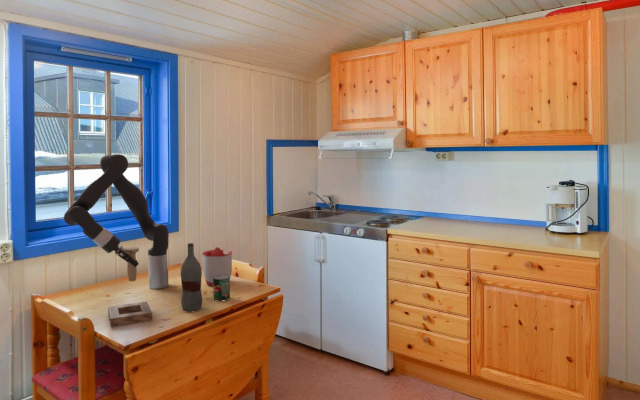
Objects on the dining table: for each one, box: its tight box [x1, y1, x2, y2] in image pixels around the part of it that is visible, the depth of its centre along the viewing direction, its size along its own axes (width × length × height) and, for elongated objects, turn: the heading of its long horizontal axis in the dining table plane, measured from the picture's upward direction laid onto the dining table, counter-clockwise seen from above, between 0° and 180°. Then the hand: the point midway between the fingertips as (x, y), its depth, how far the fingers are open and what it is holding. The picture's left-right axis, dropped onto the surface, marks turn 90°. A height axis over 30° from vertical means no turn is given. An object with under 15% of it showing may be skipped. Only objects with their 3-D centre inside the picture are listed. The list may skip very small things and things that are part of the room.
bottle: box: [179, 242, 203, 313], centre depth 208 cm, size 9×9×30 cm
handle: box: [123, 246, 140, 282], centre depth 210 cm, size 5×6×15 cm
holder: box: [107, 301, 153, 328], centre depth 198 cm, size 16×16×4 cm
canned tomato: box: [212, 274, 231, 302], centre depth 223 cm, size 8×8×11 cm
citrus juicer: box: [201, 246, 233, 287], centre depth 248 cm, size 16×17×20 cm
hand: (136, 264), depth 211 cm, fingers closed on handle, 3 cm apart
